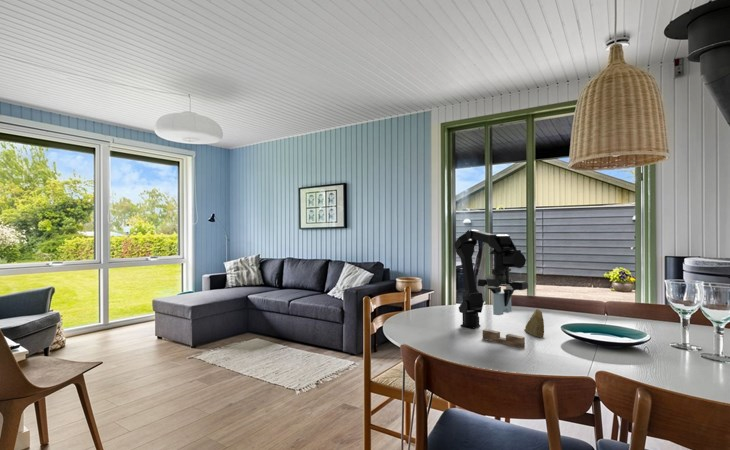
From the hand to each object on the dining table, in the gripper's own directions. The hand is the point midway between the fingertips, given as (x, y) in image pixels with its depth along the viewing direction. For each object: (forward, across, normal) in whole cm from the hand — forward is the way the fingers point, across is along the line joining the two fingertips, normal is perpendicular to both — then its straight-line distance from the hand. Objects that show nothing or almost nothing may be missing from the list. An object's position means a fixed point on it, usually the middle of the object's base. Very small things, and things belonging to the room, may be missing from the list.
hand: (502, 305), depth 153 cm
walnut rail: (+13, +2, -4) cm, 14 cm away
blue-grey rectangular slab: (+3, 0, 0) cm, 3 cm away
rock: (+14, +5, +16) cm, 22 cm away
